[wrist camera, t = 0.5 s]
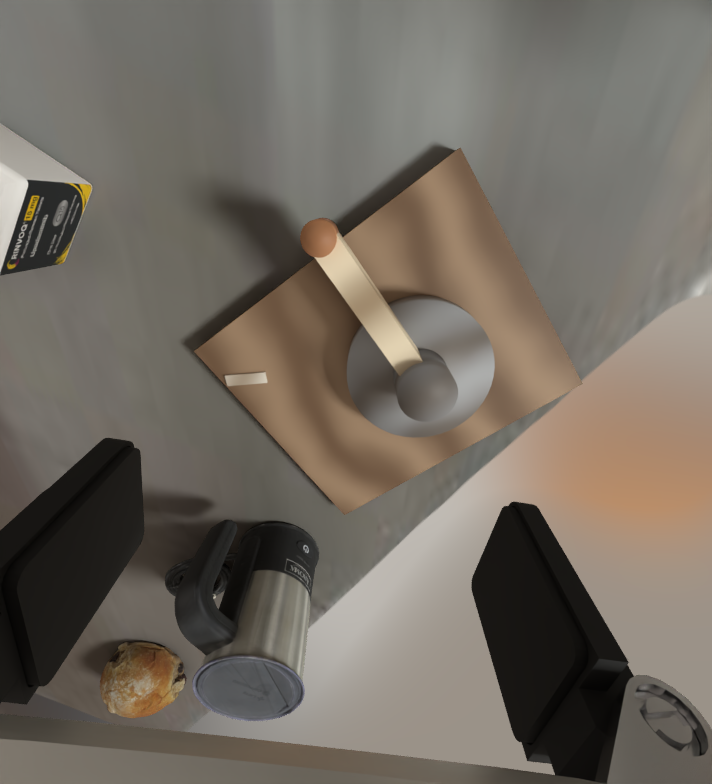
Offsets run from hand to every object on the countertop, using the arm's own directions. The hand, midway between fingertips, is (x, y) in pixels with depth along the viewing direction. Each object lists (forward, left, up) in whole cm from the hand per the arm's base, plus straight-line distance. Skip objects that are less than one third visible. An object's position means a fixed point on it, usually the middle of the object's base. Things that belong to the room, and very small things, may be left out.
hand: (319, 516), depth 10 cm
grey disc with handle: (-2, +4, -24) cm, 25 cm away
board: (0, +7, -26) cm, 27 cm away
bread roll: (+51, +25, -26) cm, 63 cm away
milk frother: (+27, +18, -26) cm, 42 cm away
